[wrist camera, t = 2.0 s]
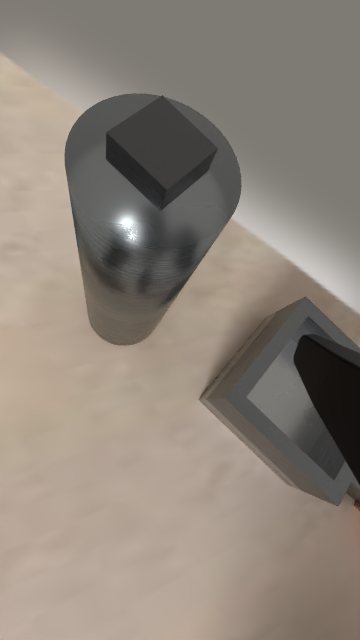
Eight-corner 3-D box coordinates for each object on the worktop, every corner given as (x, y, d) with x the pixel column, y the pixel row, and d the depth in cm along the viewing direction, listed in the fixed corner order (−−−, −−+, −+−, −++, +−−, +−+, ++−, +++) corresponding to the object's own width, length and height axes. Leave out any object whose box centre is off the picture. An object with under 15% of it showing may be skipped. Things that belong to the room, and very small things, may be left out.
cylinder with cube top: (124, 360, 19) (170, 269, 6) (72, 310, 19) (11, 118, 6) (172, 311, 21) (288, 158, 8) (123, 265, 21) (159, 36, 8)
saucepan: (409, 601, 20) (494, 655, 15) (198, 399, 20) (225, 398, 16) (453, 494, 22) (536, 515, 18) (266, 317, 22) (305, 296, 18)
